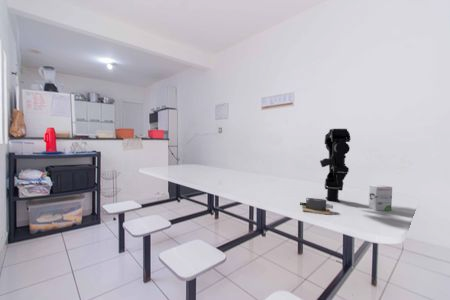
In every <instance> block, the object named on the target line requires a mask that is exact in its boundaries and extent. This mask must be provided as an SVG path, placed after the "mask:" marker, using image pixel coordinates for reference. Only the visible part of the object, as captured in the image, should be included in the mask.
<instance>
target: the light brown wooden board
mask: <svg viewBox="0 0 450 300" xmlns="http://www.w3.org/2000/svg"><path fill="white" fill-rule="evenodd" d="M301 208H302V212H303V213H312V214H318V215H319V214H321V215H329V216H331V214H332V213H331V211H330V208H326V210H325V211H321V210H312V209H307V208H306V206H302V205H301Z"/></svg>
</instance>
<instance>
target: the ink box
mask: <svg viewBox="0 0 450 300" xmlns="http://www.w3.org/2000/svg"><path fill="white" fill-rule="evenodd" d="M368 195H369V198H368V208H369V209H370V210H373V211H375V212H377V211H378V212H379V211H392V205H393V204H392V203H393V202H392V201H393V200H392V199H393V187H392V186H389V185H369V194H368Z"/></svg>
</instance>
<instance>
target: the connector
mask: <svg viewBox="0 0 450 300" xmlns="http://www.w3.org/2000/svg"><path fill="white" fill-rule="evenodd" d="M299 205H300V206H301V207H302V206H306V208H307V209H312V210H321V211H325V210H326V208H328V209H334V204H332V203H327V199H323V198H316V197H315V198H314V197H306V198H305V202H300V201H299Z"/></svg>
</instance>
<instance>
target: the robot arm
mask: <svg viewBox="0 0 450 300" xmlns="http://www.w3.org/2000/svg"><path fill="white" fill-rule="evenodd" d="M350 141H351V134H350V132H349V130H348V128H330V129H329V132H327V134H325V137H324V145H325V148H326V150H327V151H328V158H327V157H325V158H323V159H322V160H320V161H319V163H320V165H321V167H322V168H325V167H328V170H329V171H328V174H327V175H326V178H325V180H324V189H325V190H327V191H326V192H327V193H326V197H325V200H326V201H329V202H330V201H331V202H340V199H339V191H343V188H344V180H345V178H346V176H347V175H348V173H349V172H350V171H349V170H350V169H349V167H348V166H347V165H346V158H347V156H346V154H347V153H349V152H350V149H351V148H350V145H349V144H348V143H350Z"/></svg>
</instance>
